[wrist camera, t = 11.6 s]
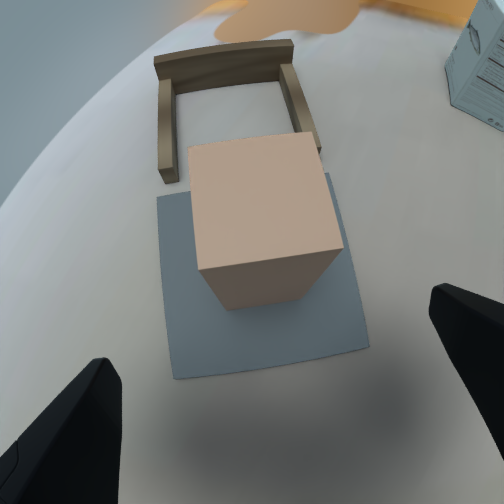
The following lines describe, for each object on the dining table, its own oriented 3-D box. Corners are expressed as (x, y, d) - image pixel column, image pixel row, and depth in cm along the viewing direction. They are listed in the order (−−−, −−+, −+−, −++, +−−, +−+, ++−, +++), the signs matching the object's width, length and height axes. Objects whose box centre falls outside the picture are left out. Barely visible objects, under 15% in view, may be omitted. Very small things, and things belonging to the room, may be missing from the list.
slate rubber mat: (366, 346, 19) (369, 346, 18) (175, 378, 19) (173, 379, 18) (327, 176, 22) (328, 172, 22) (158, 200, 22) (156, 197, 22)
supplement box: (442, 65, 27) (483, -17, 15) (493, 91, 27) (541, 21, 14) (448, 105, 25) (504, 14, 13) (503, 134, 24) (566, 60, 12)
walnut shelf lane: (316, 162, 23) (326, 129, 19) (165, 184, 22) (149, 152, 19) (287, 72, 26) (290, 39, 22) (164, 89, 25) (154, 56, 22)
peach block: (300, 299, 19) (343, 247, 10) (226, 310, 19) (198, 269, 10) (287, 229, 21) (311, 131, 11) (217, 239, 21) (187, 147, 11)
